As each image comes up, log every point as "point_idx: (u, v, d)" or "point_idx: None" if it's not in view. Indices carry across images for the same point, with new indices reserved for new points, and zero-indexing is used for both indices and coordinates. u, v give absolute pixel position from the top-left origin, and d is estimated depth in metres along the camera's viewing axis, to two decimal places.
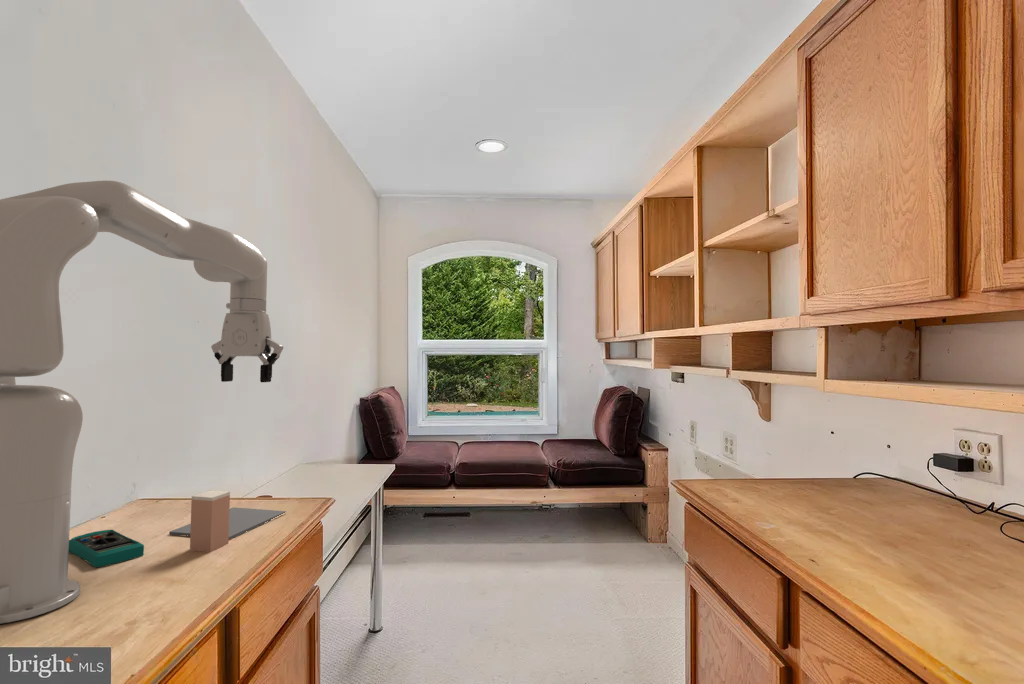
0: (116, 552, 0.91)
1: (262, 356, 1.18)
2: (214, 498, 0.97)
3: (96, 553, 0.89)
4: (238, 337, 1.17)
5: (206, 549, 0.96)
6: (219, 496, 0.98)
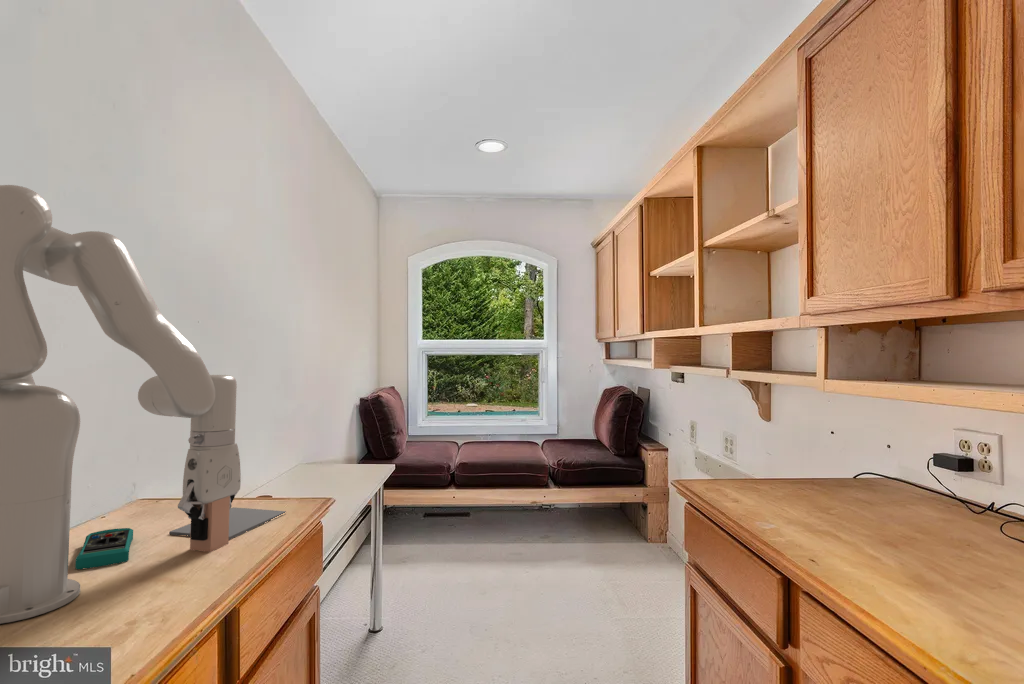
0: (97, 555, 0.89)
1: None
2: None
3: (79, 554, 0.88)
4: (223, 476, 0.99)
5: (206, 549, 0.96)
6: None
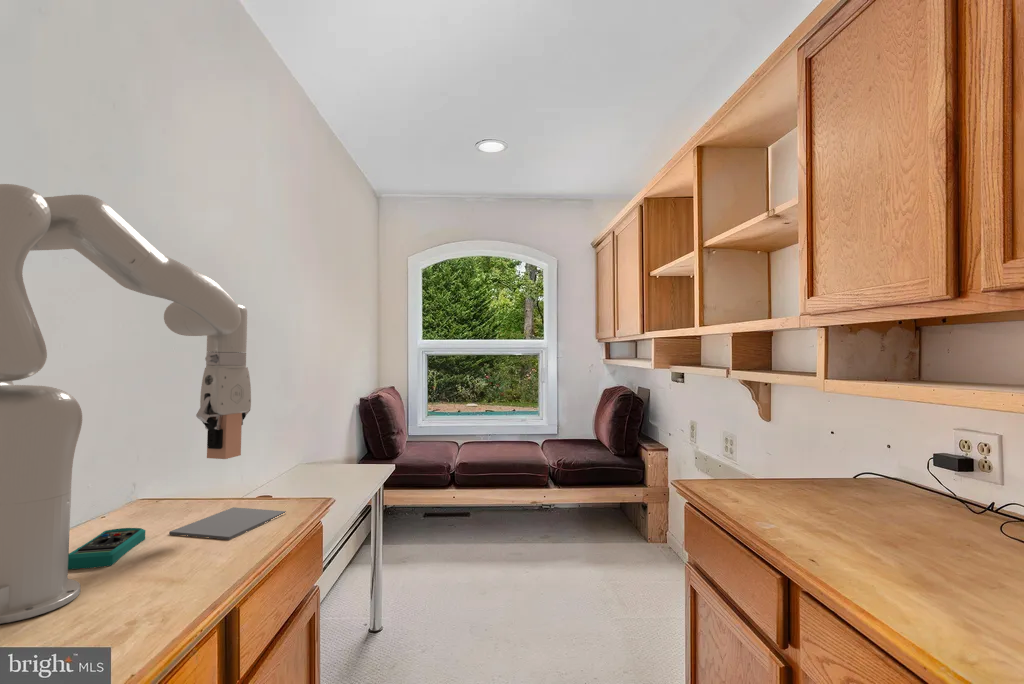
0: (81, 557, 0.88)
1: None
2: None
3: None
4: (236, 393, 1.10)
5: (221, 457, 1.08)
6: None
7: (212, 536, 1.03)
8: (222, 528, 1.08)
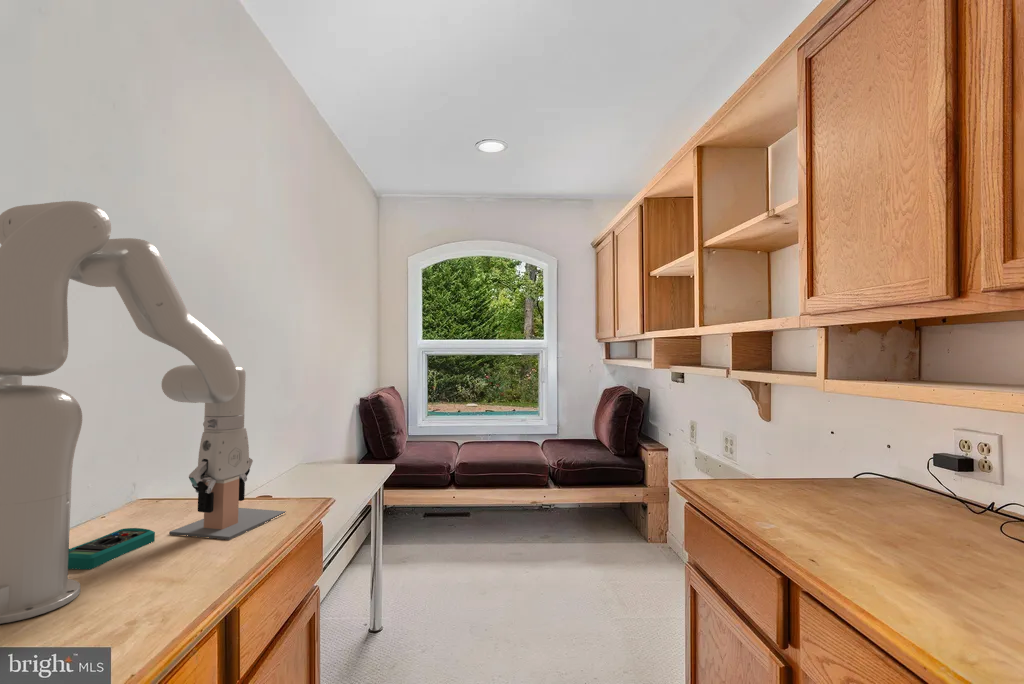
0: None
1: (243, 473, 1.14)
2: (225, 481, 1.08)
3: None
4: (234, 457, 1.10)
5: (218, 527, 1.07)
6: (230, 479, 1.09)
7: (212, 536, 1.03)
8: None
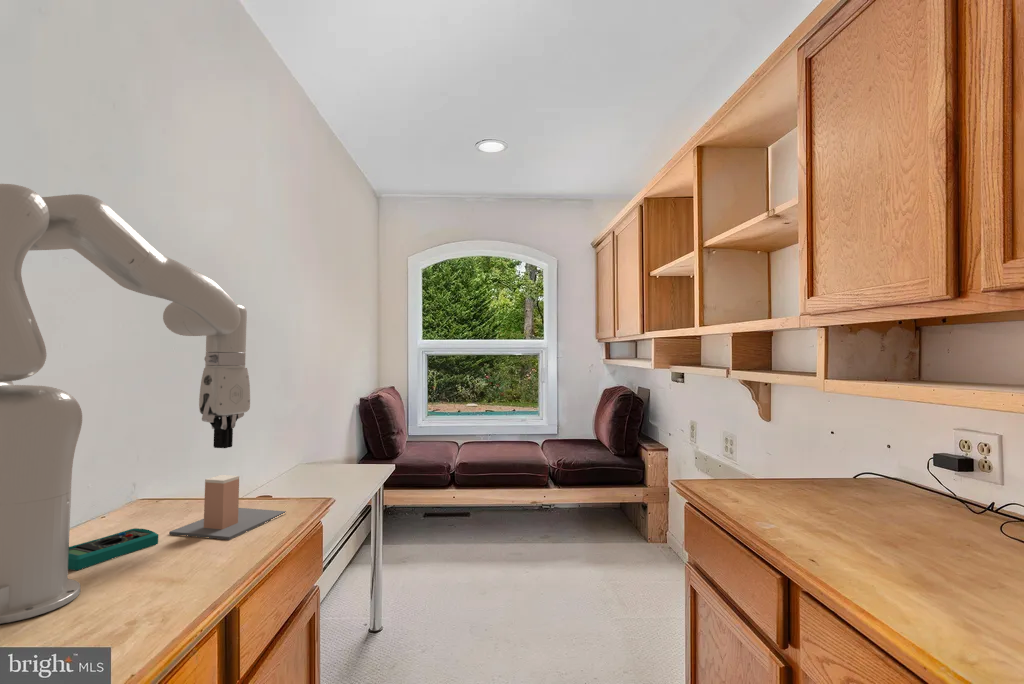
0: None
1: (235, 418, 1.12)
2: (225, 481, 1.08)
3: None
4: (235, 394, 1.10)
5: (218, 527, 1.07)
6: (230, 479, 1.09)
7: (212, 536, 1.03)
8: None
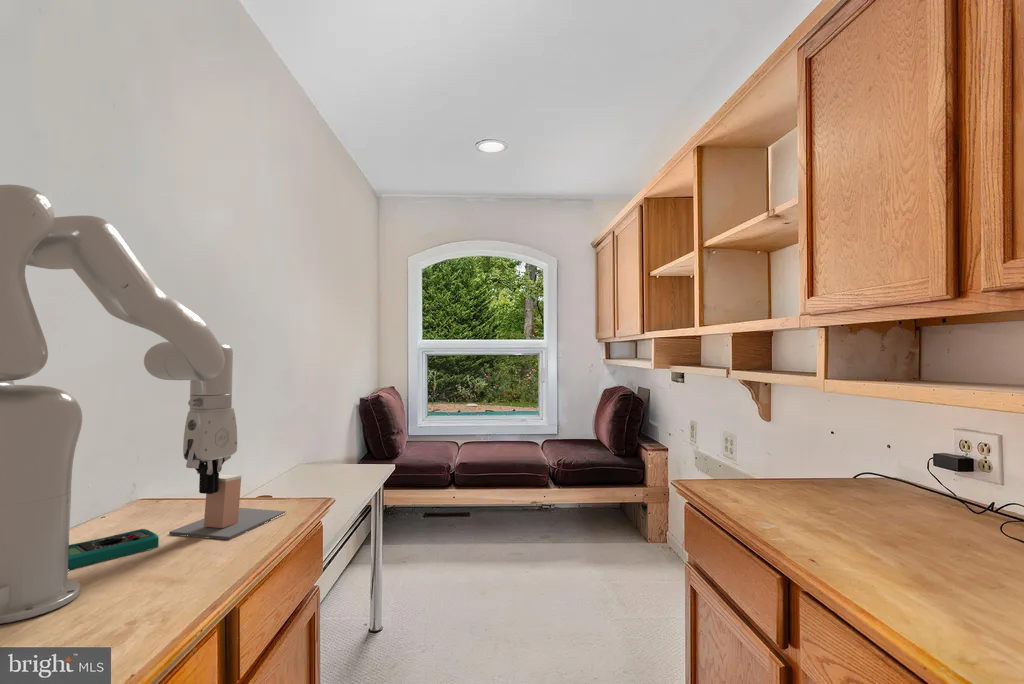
0: None
1: (221, 461, 1.08)
2: (227, 479, 1.08)
3: None
4: (221, 437, 1.06)
5: (218, 525, 1.07)
6: (232, 478, 1.10)
7: (212, 536, 1.03)
8: (222, 528, 1.08)
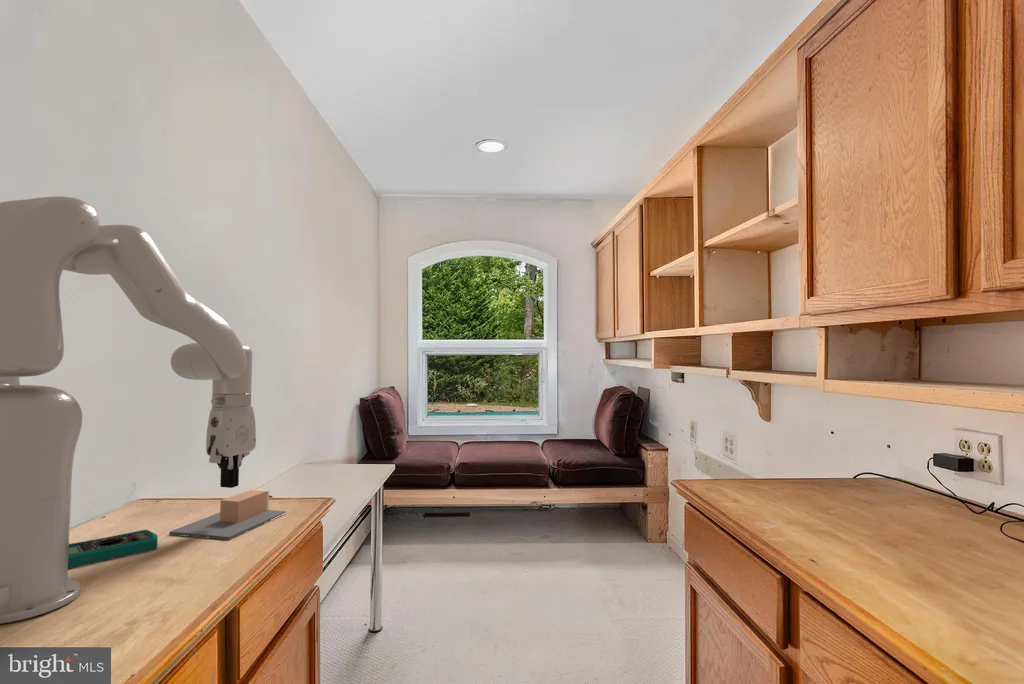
0: None
1: (241, 457, 1.14)
2: (268, 492, 1.21)
3: None
4: (241, 434, 1.12)
5: (236, 500, 1.12)
6: (268, 498, 1.21)
7: (212, 536, 1.03)
8: (222, 528, 1.08)
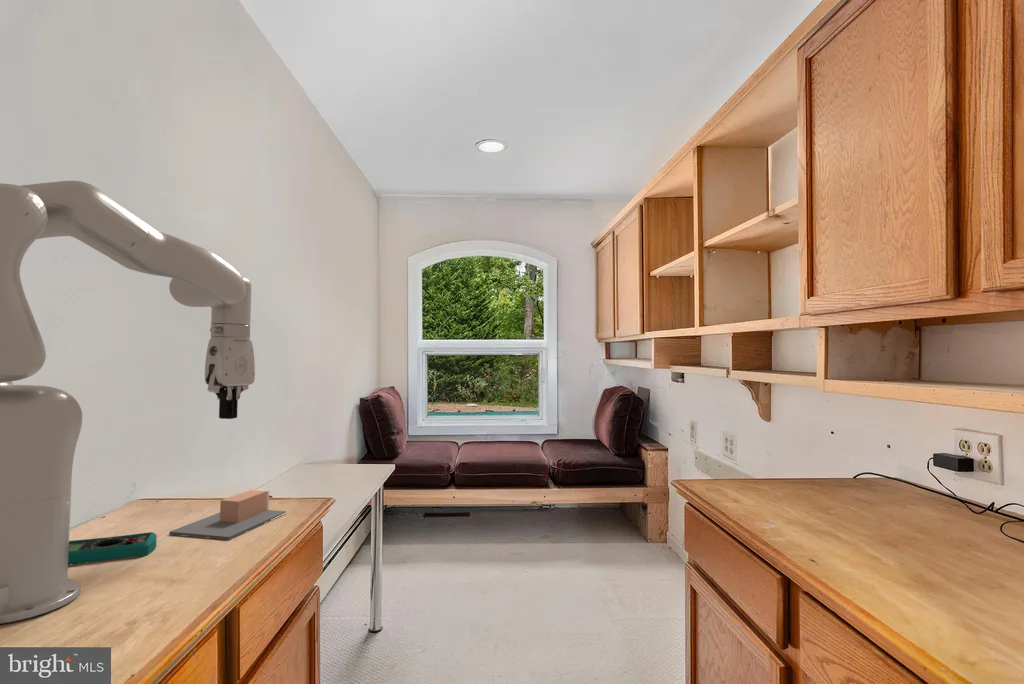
0: None
1: (239, 390, 1.13)
2: (268, 492, 1.21)
3: (70, 541, 0.95)
4: (240, 365, 1.11)
5: (236, 500, 1.12)
6: (268, 498, 1.21)
7: (212, 536, 1.03)
8: (222, 528, 1.08)
